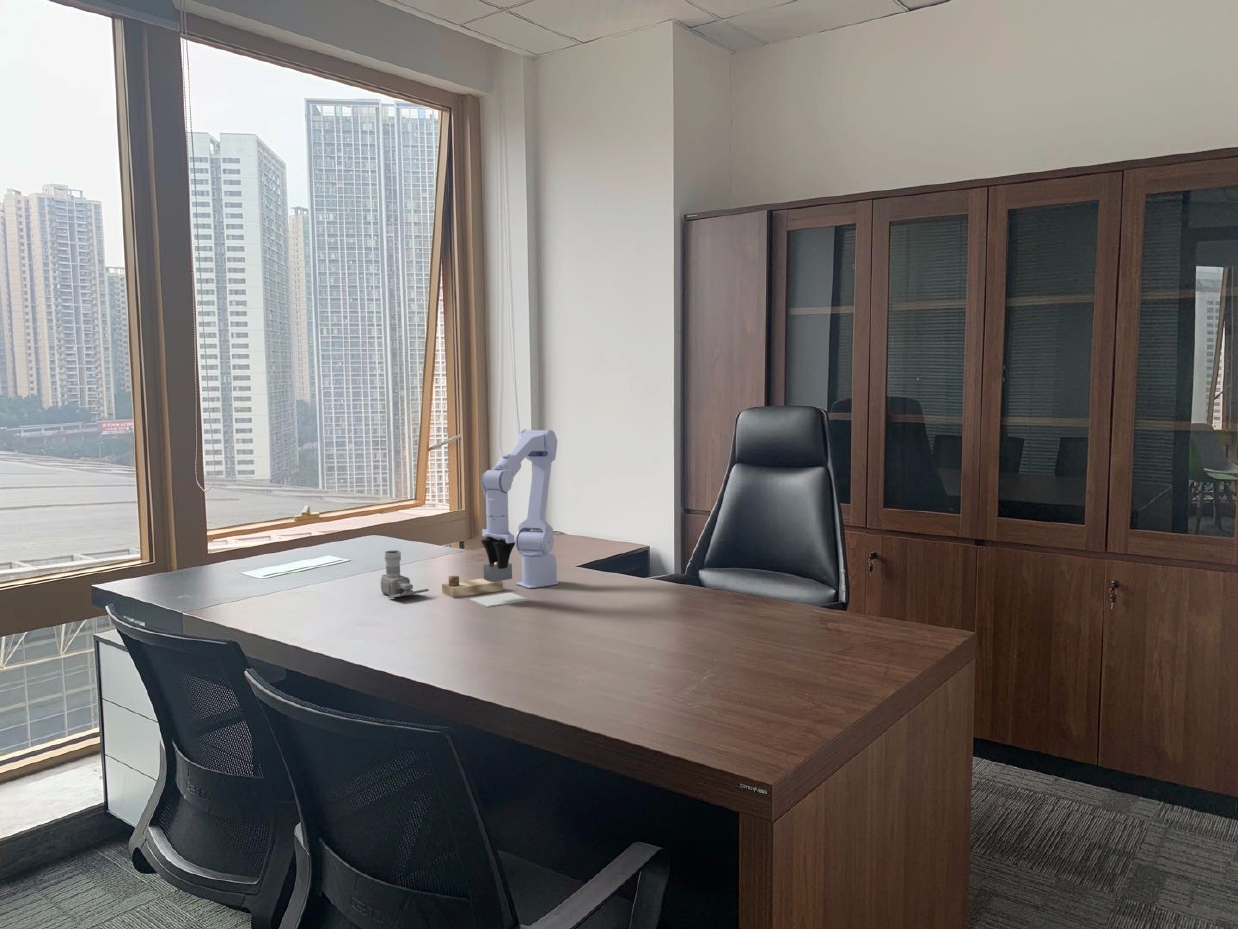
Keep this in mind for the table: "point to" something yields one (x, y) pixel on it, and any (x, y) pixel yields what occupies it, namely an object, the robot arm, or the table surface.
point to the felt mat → (499, 599)
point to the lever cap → (497, 572)
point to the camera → (395, 577)
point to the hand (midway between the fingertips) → (498, 566)
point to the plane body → (469, 587)
